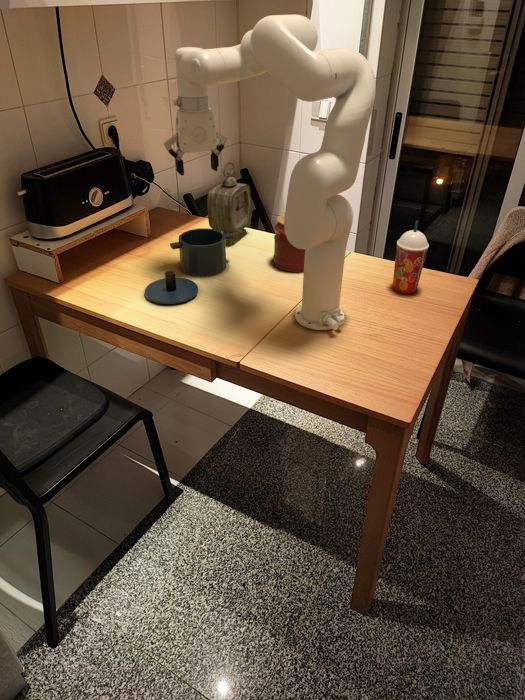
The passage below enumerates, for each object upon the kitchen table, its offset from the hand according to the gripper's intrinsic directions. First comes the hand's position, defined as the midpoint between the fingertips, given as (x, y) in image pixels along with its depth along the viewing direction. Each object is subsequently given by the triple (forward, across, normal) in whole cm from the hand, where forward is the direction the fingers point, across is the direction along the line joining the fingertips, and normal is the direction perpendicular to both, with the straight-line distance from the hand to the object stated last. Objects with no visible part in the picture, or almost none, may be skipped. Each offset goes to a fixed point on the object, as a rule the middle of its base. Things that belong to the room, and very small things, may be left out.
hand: (197, 172), depth 141 cm
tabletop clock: (+28, +16, +17) cm, 37 cm away
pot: (+28, 0, 0) cm, 28 cm away
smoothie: (+28, +46, -38) cm, 66 cm away
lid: (+28, -14, -12) cm, 33 cm away
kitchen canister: (+28, +26, -10) cm, 40 cm away
